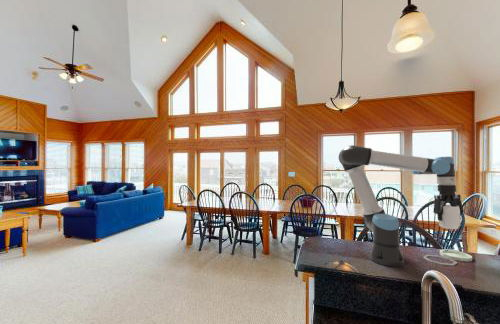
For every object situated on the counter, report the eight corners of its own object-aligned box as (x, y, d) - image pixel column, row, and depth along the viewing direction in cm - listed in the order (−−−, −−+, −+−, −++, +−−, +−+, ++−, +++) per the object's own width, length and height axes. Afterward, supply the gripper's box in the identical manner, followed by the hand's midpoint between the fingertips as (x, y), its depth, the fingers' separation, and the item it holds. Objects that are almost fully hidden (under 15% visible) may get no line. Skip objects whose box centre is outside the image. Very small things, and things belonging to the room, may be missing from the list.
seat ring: (433, 264, 110) (433, 262, 110) (419, 255, 122) (419, 254, 122) (462, 266, 107) (462, 265, 107) (445, 257, 119) (445, 255, 119)
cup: (434, 226, 122) (432, 204, 123) (449, 225, 123) (447, 204, 123) (450, 230, 113) (448, 206, 114) (466, 229, 114) (464, 206, 115)
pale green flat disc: (449, 260, 115) (449, 257, 115) (434, 251, 128) (434, 248, 128) (479, 262, 112) (478, 259, 113) (460, 253, 125) (460, 250, 125)
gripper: (435, 185, 115) (438, 228, 113) (471, 184, 117) (474, 226, 115) (422, 184, 122) (425, 225, 121) (456, 183, 124) (459, 223, 123)
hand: (449, 226), depth 118 cm, fingers closed on cup, 9 cm apart
